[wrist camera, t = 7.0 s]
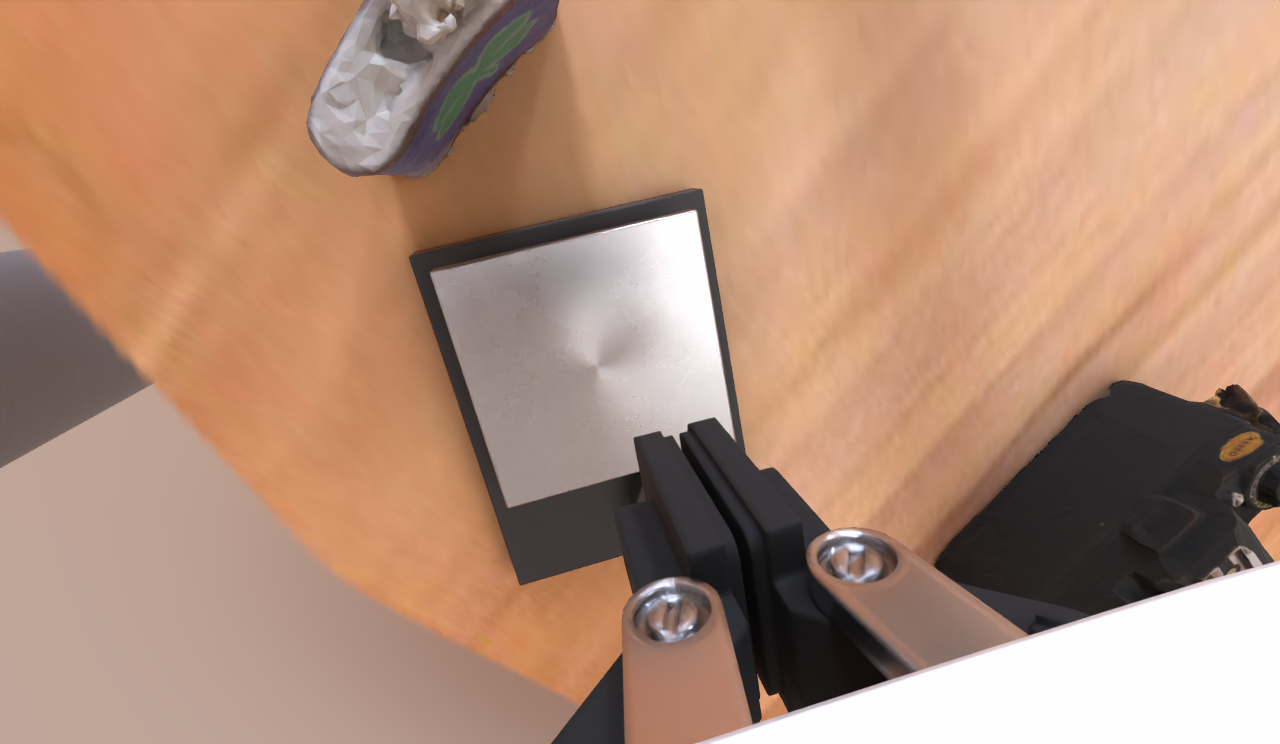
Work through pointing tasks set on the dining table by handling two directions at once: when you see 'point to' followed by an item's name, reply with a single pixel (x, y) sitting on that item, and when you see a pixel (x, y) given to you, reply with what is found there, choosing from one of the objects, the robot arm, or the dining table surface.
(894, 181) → the dining table surface
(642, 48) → the dining table surface
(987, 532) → the film camera
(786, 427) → the dining table surface
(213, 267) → the dining table surface
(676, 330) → the pan
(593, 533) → the scale
